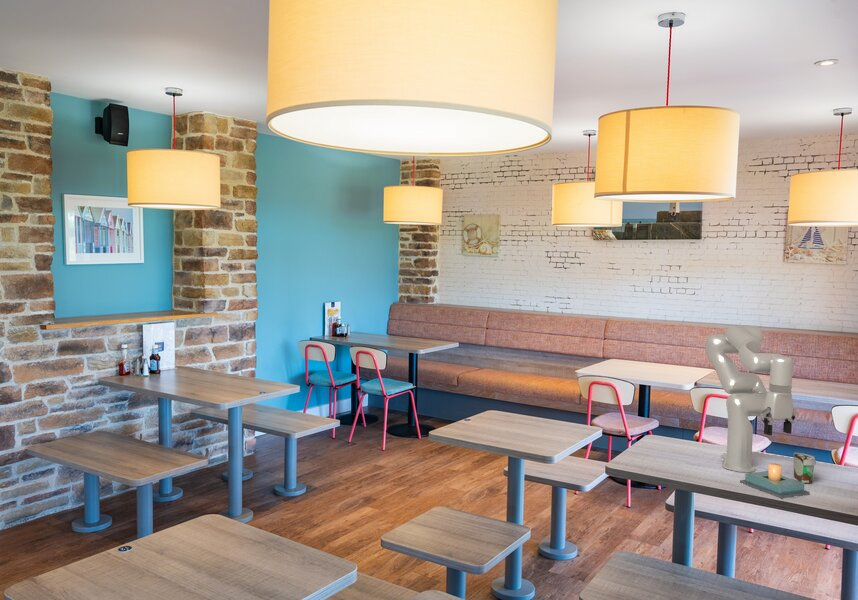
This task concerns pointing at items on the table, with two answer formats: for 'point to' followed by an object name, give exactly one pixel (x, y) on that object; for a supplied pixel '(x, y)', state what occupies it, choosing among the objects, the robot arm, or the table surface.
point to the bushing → (774, 472)
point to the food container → (803, 467)
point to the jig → (775, 485)
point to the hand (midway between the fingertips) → (777, 433)
